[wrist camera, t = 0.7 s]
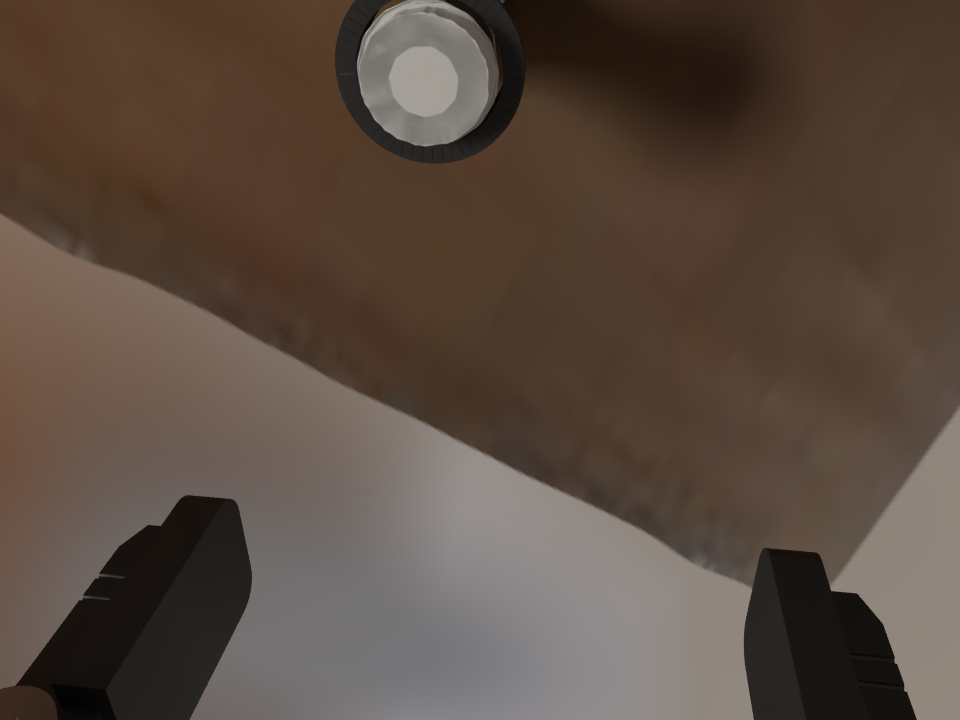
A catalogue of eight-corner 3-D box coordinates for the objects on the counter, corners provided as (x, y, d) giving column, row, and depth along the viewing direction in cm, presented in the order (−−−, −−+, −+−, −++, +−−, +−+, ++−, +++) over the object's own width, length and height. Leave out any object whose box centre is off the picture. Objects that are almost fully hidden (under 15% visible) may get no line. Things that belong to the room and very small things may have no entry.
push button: (478, -148, 28) (437, -124, 19) (593, -34, 29) (600, 33, 21) (365, 12, 31) (289, 91, 23) (474, 106, 32) (439, 211, 24)
